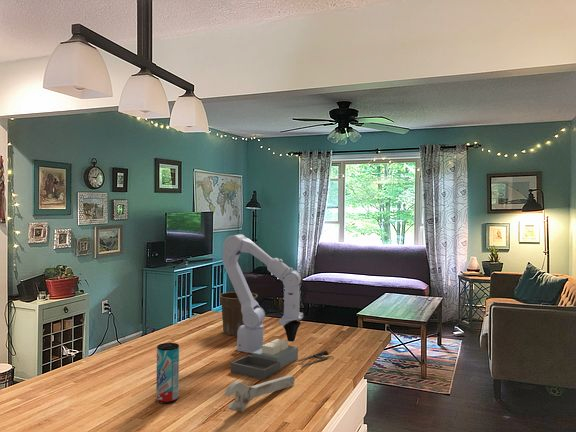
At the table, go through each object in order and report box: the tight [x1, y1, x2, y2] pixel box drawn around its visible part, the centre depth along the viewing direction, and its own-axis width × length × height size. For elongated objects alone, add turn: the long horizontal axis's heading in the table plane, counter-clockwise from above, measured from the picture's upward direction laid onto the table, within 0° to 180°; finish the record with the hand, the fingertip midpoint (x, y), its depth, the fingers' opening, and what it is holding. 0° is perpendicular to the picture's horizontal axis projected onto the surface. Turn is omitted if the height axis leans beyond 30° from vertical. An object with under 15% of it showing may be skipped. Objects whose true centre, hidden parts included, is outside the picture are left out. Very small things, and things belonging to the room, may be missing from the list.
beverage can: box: [155, 342, 180, 404], centre depth 129 cm, size 6×6×15 cm
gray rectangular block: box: [251, 345, 299, 369], centre depth 163 cm, size 10×14×4 cm
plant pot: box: [218, 291, 259, 337], centre depth 200 cm, size 16×16×16 cm
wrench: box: [224, 374, 296, 413], centre depth 131 cm, size 8×2×30 cm
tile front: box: [262, 341, 280, 355], centre depth 160 cm, size 4×4×2 cm
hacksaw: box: [295, 350, 335, 373], centre depth 162 cm, size 24×10×2 cm, turn 132°
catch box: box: [230, 354, 281, 381], centre depth 152 cm, size 13×10×3 cm
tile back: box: [270, 338, 289, 351], centre depth 165 cm, size 4×4×2 cm
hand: (291, 341), depth 172 cm, fingers closed
